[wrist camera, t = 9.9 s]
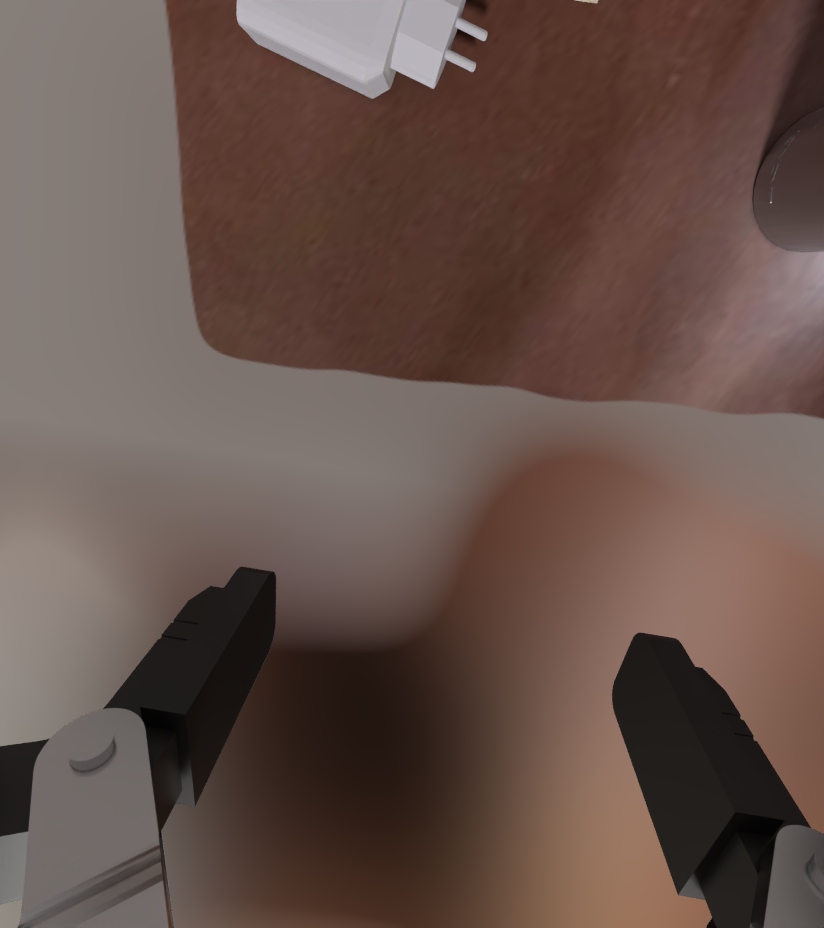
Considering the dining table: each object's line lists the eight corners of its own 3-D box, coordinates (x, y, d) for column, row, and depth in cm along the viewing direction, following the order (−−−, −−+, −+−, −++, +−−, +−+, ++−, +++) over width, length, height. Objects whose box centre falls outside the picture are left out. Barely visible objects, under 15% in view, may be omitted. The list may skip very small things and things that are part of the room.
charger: (452, 139, 35) (261, 48, 33) (509, -15, 31) (297, -125, 30) (451, 123, 30) (232, 17, 29) (518, -60, 27) (269, -190, 25)
